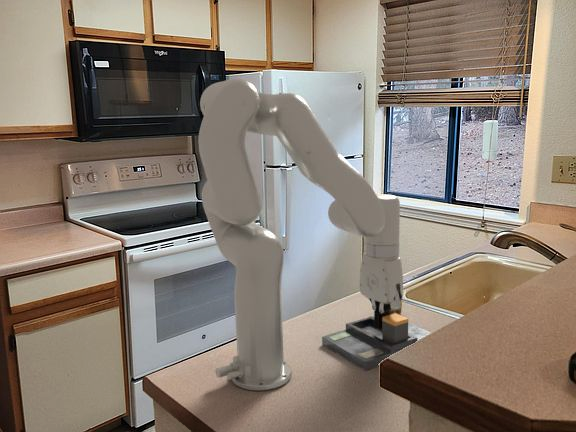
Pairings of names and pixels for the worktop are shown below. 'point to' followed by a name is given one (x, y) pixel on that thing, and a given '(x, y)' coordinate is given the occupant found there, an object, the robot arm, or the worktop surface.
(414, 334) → the panel
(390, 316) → the toggle
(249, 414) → the worktop surface
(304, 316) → the worktop surface
